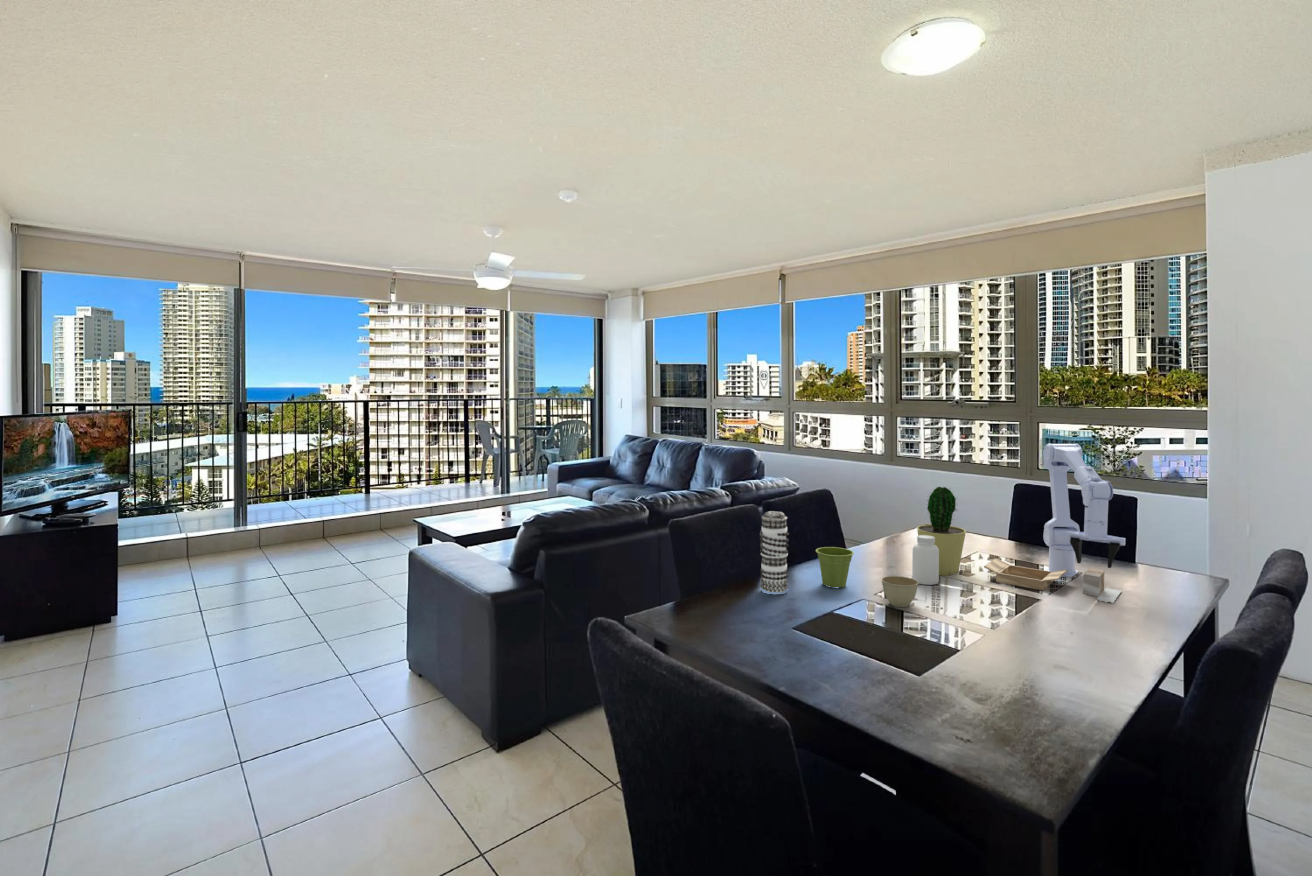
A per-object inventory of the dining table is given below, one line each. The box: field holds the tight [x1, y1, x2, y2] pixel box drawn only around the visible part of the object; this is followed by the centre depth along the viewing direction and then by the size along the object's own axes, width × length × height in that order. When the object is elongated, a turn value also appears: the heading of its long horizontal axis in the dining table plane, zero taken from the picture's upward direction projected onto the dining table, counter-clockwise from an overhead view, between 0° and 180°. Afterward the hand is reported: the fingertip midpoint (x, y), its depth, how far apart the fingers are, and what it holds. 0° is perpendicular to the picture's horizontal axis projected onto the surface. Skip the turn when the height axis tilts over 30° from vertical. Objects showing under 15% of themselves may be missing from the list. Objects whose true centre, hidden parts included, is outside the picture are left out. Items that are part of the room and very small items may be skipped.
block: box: [1082, 568, 1105, 597], centre depth 189 cm, size 8×4×6 cm, turn 135°
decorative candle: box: [759, 510, 790, 592], centre depth 195 cm, size 9×9×25 cm
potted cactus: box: [916, 486, 967, 577], centre depth 214 cm, size 15×15×30 cm
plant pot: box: [815, 546, 855, 588], centre depth 200 cm, size 12×12×11 cm
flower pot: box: [881, 575, 919, 608], centre depth 182 cm, size 10×10×7 cm
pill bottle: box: [911, 535, 940, 586], centre depth 203 cm, size 8×8×15 cm
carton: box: [983, 558, 1068, 591], centre depth 200 cm, size 13×21×5 cm, turn 46°
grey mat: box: [1095, 587, 1122, 604], centre depth 189 cm, size 14×12×1 cm
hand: (1094, 564), depth 189 cm, fingers open, 7 cm apart
